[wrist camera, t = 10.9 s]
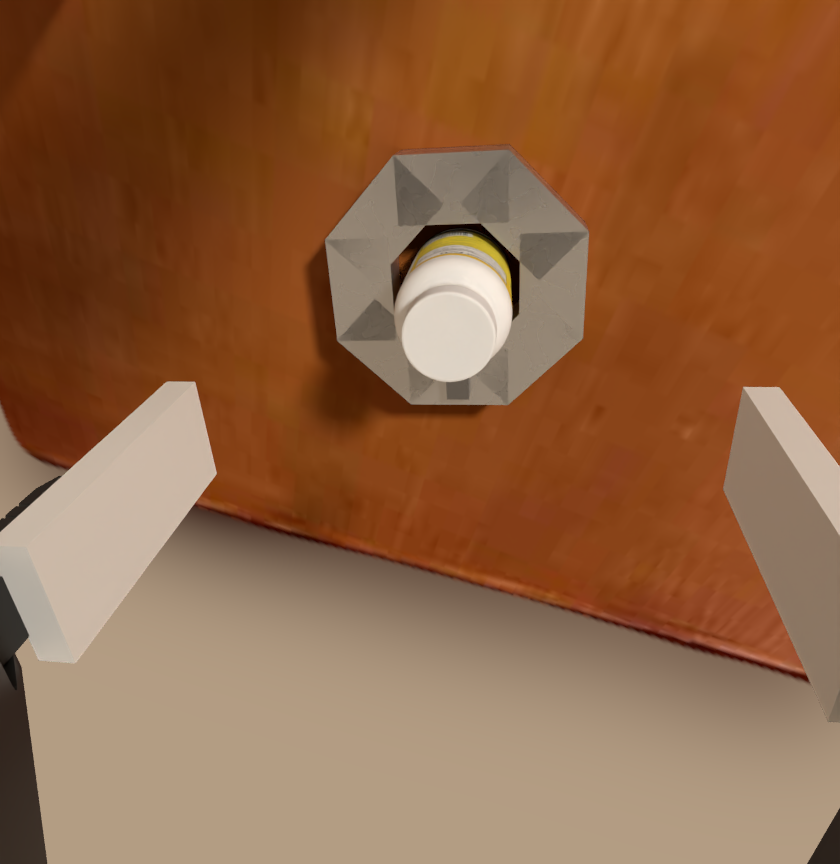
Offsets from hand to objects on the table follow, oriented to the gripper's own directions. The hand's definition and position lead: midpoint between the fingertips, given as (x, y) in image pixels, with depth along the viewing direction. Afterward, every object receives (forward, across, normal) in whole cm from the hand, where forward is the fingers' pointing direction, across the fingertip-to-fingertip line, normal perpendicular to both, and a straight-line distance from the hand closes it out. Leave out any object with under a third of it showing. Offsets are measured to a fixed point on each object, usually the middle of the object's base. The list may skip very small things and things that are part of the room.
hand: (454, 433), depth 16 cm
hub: (+22, -2, -2) cm, 22 cm away
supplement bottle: (+22, -2, -2) cm, 22 cm away
